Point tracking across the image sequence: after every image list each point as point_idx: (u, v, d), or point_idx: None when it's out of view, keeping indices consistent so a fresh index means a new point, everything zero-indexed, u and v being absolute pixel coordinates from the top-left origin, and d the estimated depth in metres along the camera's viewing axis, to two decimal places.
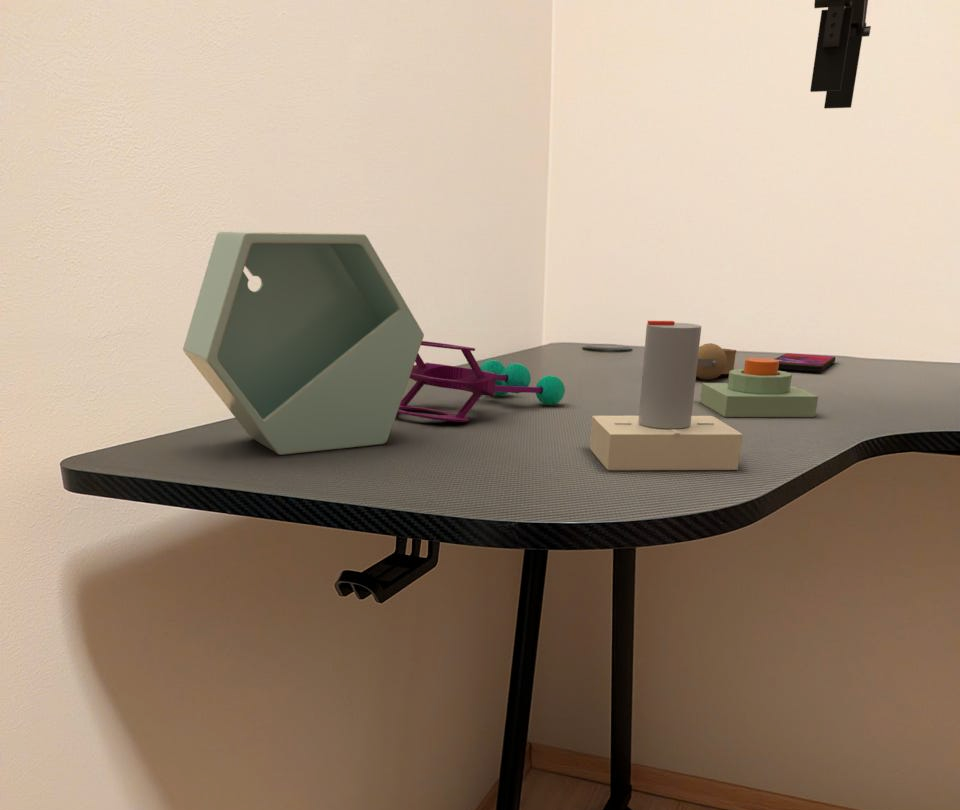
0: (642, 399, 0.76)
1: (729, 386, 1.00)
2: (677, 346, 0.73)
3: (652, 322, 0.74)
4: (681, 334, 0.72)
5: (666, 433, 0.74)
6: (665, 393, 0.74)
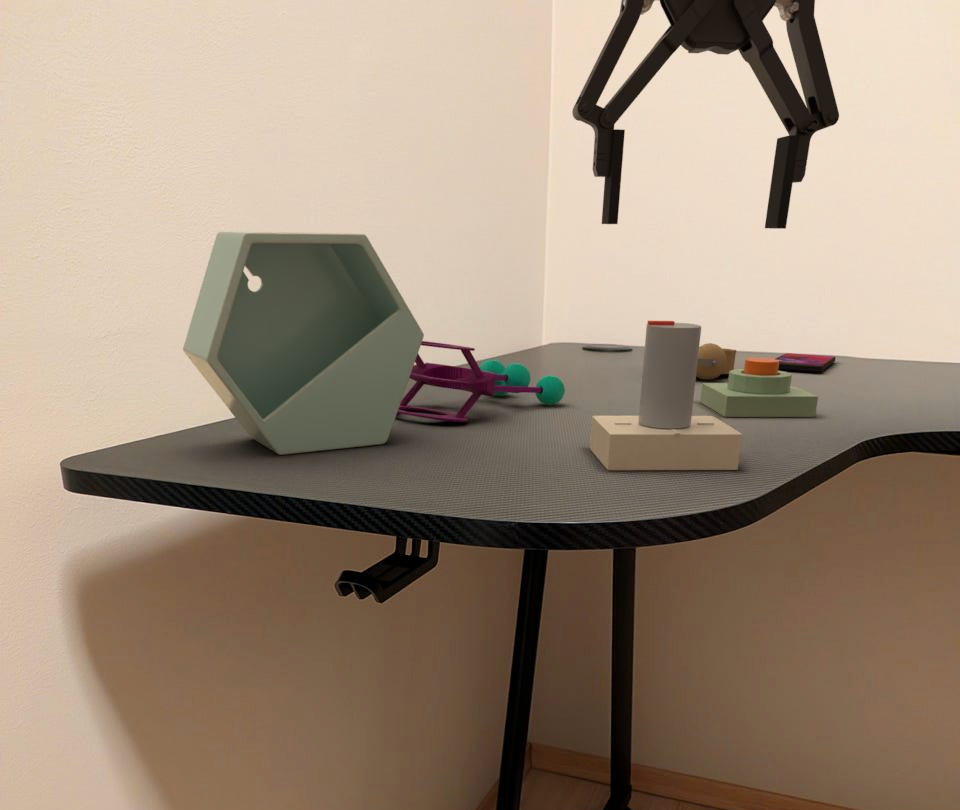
0: (642, 399, 0.76)
1: (729, 386, 1.00)
2: (677, 346, 0.73)
3: (652, 322, 0.74)
4: (681, 334, 0.72)
5: (666, 433, 0.74)
6: (665, 393, 0.74)
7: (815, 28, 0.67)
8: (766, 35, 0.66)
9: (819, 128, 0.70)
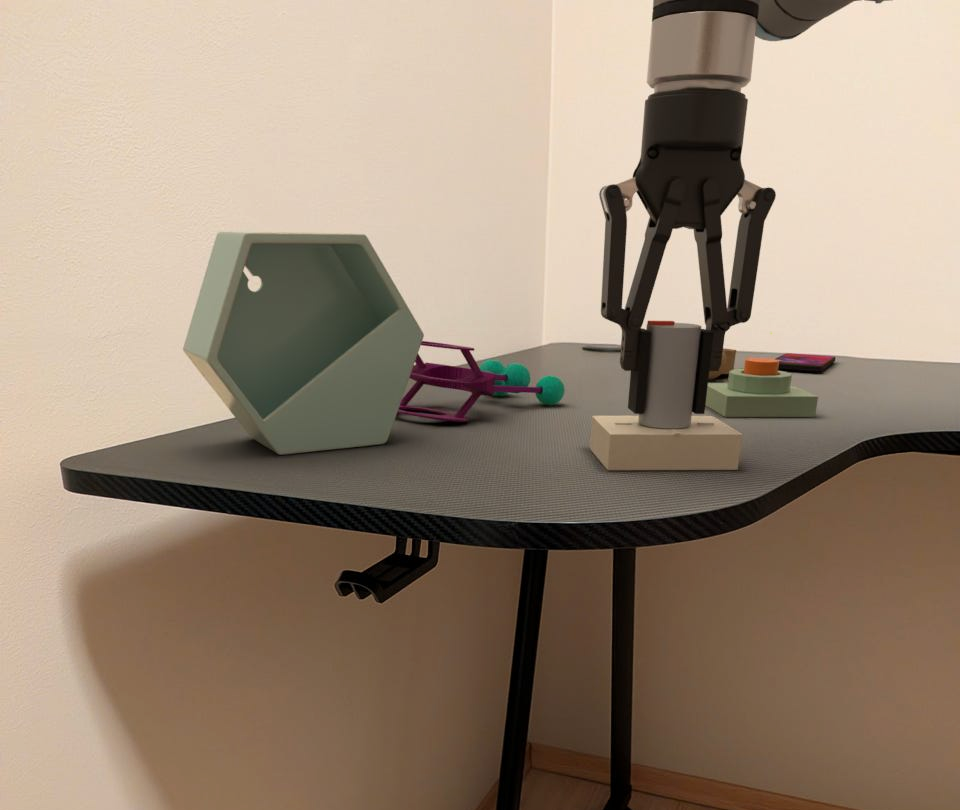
0: None
1: (729, 386, 1.00)
2: (677, 346, 0.73)
3: (652, 322, 0.74)
4: (681, 334, 0.72)
5: (666, 433, 0.74)
6: (665, 393, 0.74)
7: (761, 232, 0.71)
8: (718, 228, 0.70)
9: (733, 324, 0.74)
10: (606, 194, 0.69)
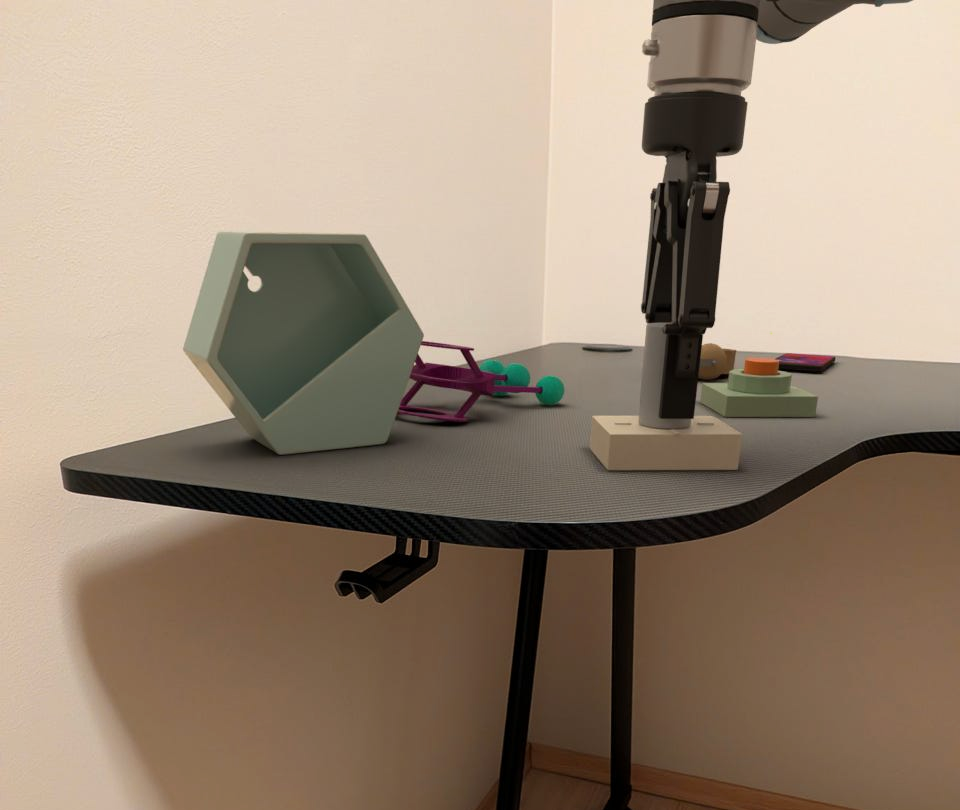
0: None
1: (729, 386, 1.00)
2: None
3: None
4: None
5: (666, 433, 0.74)
6: None
7: None
8: None
9: None
10: (729, 191, 0.64)
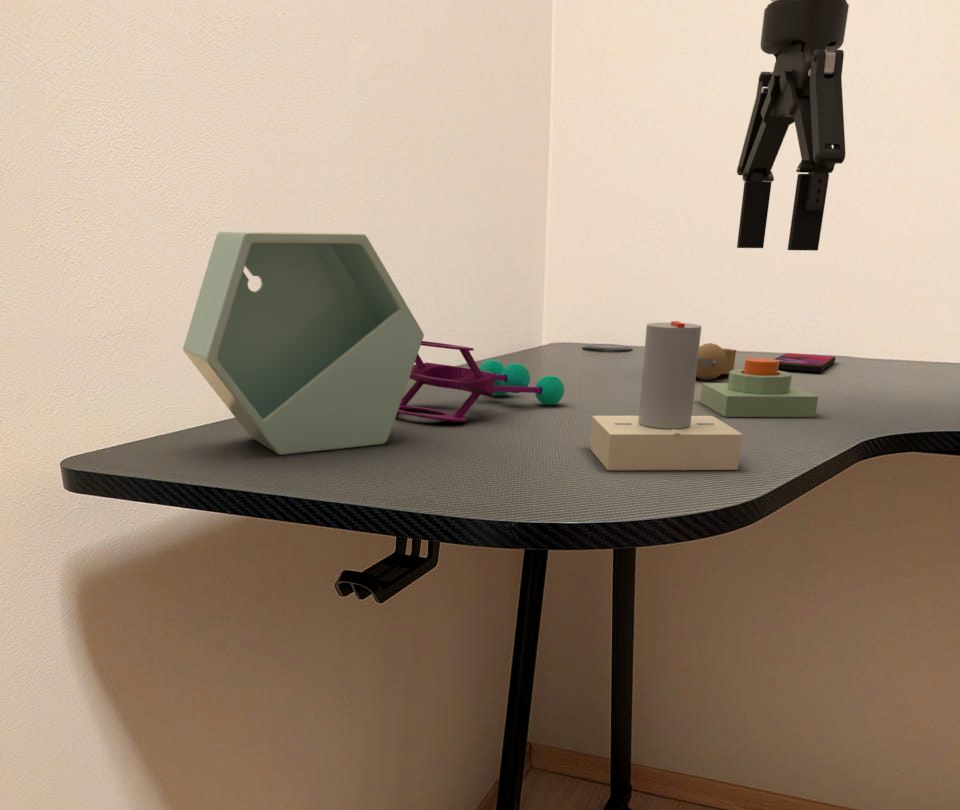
0: (677, 403, 0.75)
1: (729, 386, 1.00)
2: None
3: None
4: None
5: (666, 433, 0.74)
6: None
7: None
8: None
9: None
10: (843, 55, 0.81)
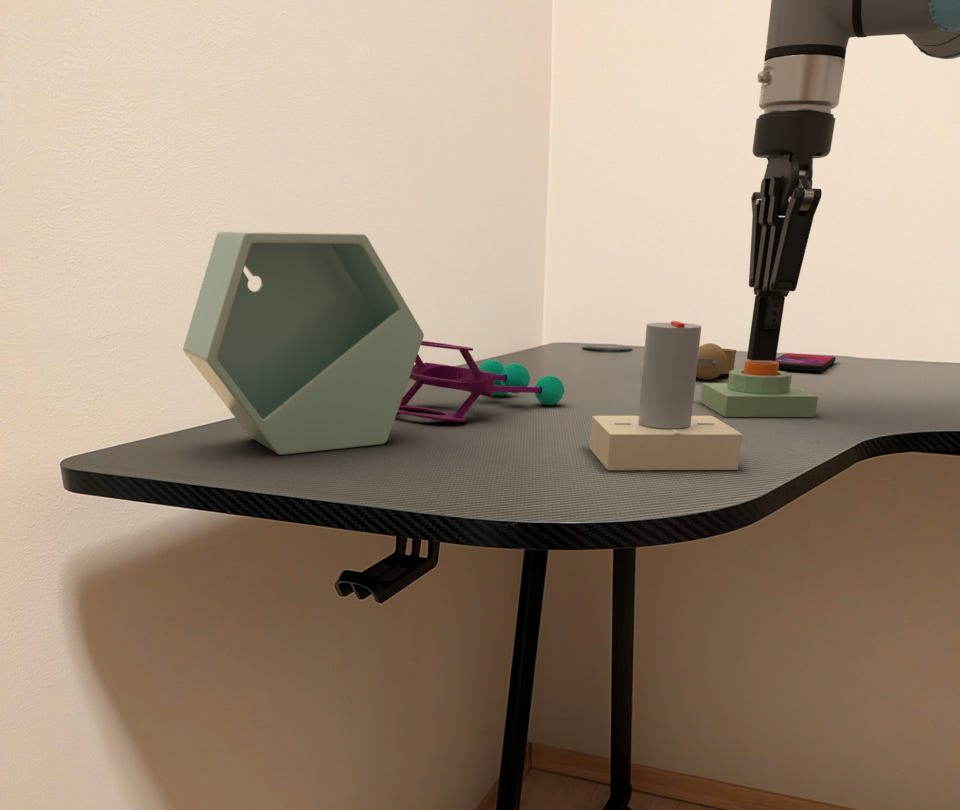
0: (677, 403, 0.75)
1: (729, 386, 1.00)
2: None
3: None
4: None
5: (666, 433, 0.74)
6: None
7: None
8: None
9: None
10: (820, 197, 0.87)
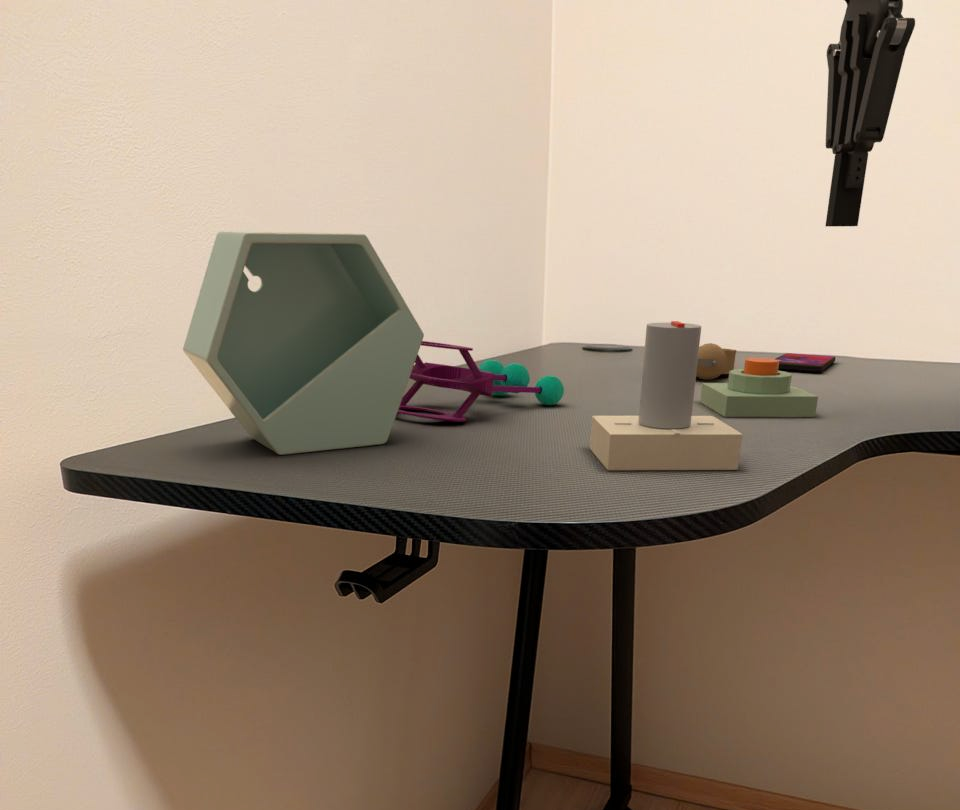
0: (677, 403, 0.75)
1: (729, 386, 1.00)
2: None
3: None
4: None
5: (666, 433, 0.74)
6: None
7: None
8: None
9: None
10: (913, 27, 0.80)
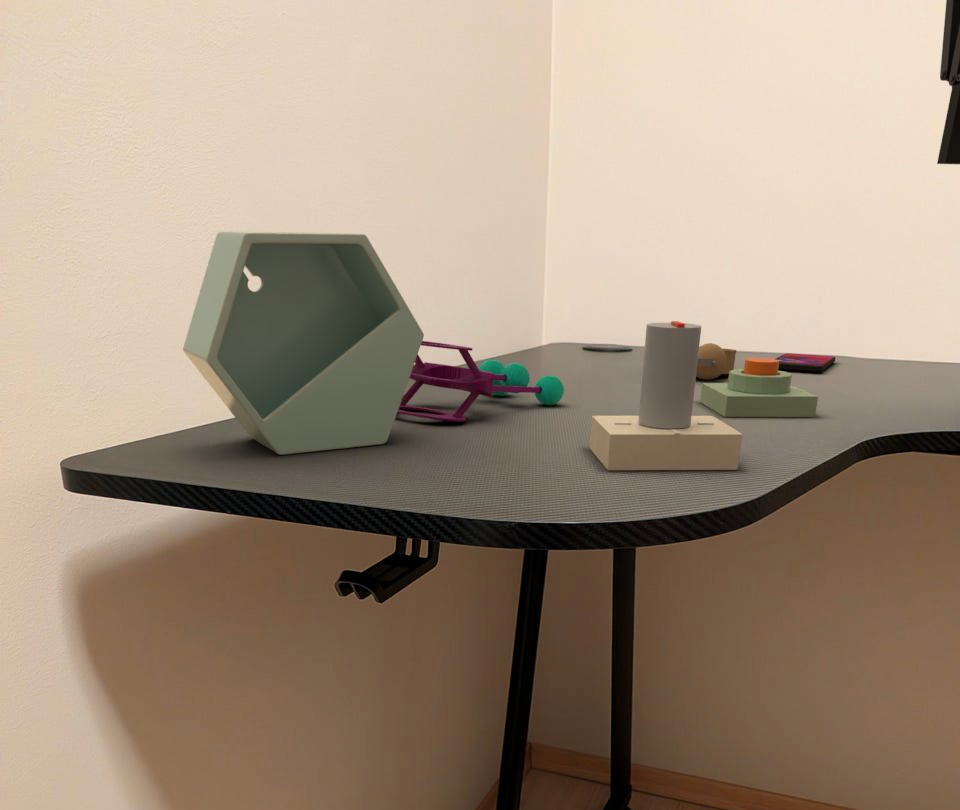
0: (677, 403, 0.75)
1: (729, 386, 1.00)
2: None
3: None
4: None
5: (666, 433, 0.74)
6: None
7: None
8: None
9: None
10: None
